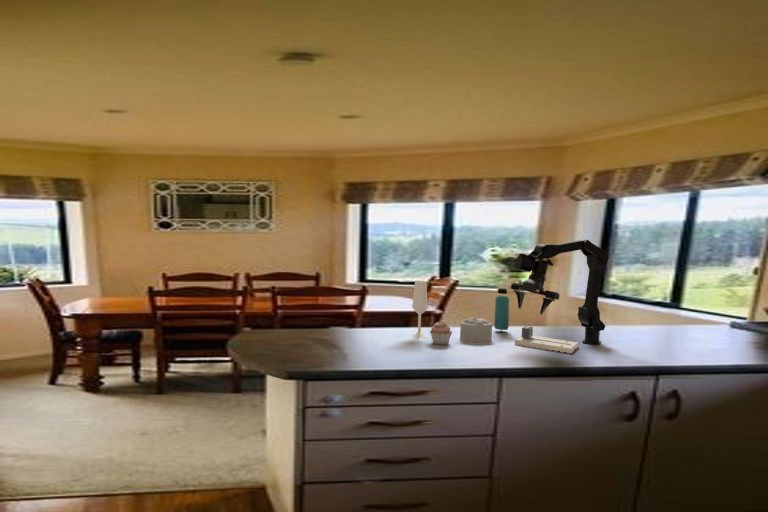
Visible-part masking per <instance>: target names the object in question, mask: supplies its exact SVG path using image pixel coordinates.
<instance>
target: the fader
mask: <svg viewBox="0 0 768 512" xmlns="http://www.w3.org/2000/svg"><path fill="white" fill-rule="evenodd" d="M533 330H534V327H533V326H529V325H525V326H523V327H521V336H522V338H531V337H532V336H534V335H533V333H534V331H533Z"/></svg>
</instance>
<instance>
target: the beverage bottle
mask: <svg viewBox="0 0 768 512" xmlns="http://www.w3.org/2000/svg"><path fill="white" fill-rule="evenodd" d="M497 293H498V294H500V295H496V296H495V300H494V301H495V303H494V319H493V320H494V322H493V323H494V329H496V330H498V331H499V330H500V331H507V330H508V329H509V323H510V322H509V321H510V319H509V318H510V297H508V296H507V295H506V294H508V288H507V289H506V288H503V287H502V288H501V287H500V288H498V289H497ZM501 294H502V295H501Z"/></svg>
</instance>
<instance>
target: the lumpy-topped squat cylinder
mask: <svg viewBox="0 0 768 512" xmlns="http://www.w3.org/2000/svg"><path fill="white" fill-rule="evenodd" d="M459 329H460V331H459V340H461V341H463V342H469V343H470V342H471V343H487V342H488V343H489V342H491V340H493V339H492V338H493V337H492V336H493V323H492V322H490V321H488V320H487V319H485V318H477V319H476V318H475V317H469V318H466V319H464V320H463V321H461V322H460V327H459Z"/></svg>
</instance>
